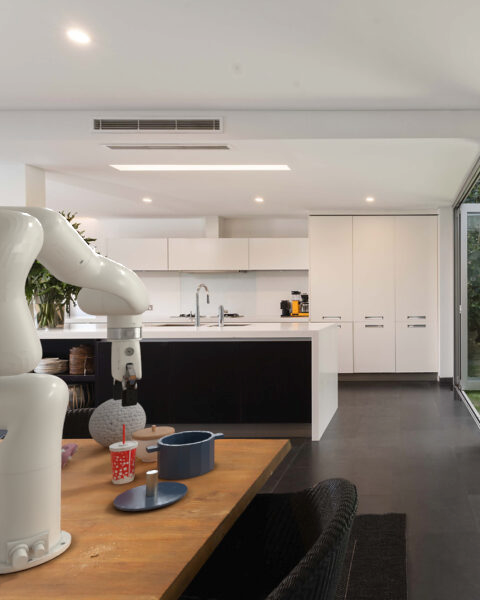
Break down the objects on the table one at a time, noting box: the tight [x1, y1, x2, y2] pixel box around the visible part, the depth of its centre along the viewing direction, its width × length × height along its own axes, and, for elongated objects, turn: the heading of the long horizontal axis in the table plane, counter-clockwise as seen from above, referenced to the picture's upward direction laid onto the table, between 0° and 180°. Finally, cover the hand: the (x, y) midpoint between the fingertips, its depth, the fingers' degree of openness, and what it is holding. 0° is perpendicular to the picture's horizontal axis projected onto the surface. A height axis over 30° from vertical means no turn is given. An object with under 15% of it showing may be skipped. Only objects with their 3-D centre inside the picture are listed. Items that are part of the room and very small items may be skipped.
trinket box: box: [132, 424, 176, 463], centre depth 128 cm, size 11×11×9 cm
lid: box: [112, 469, 189, 512], centre depth 101 cm, size 15×15×6 cm
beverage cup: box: [108, 424, 138, 485], centre depth 112 cm, size 6×6×14 cm
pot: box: [146, 430, 225, 481], centre depth 119 cm, size 14×19×8 cm
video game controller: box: [61, 442, 79, 469], centre depth 122 cm, size 10×5×7 cm, turn 22°
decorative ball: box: [88, 398, 147, 448], centre depth 140 cm, size 15×15×15 cm
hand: (124, 402), depth 113 cm, fingers open, 9 cm apart
